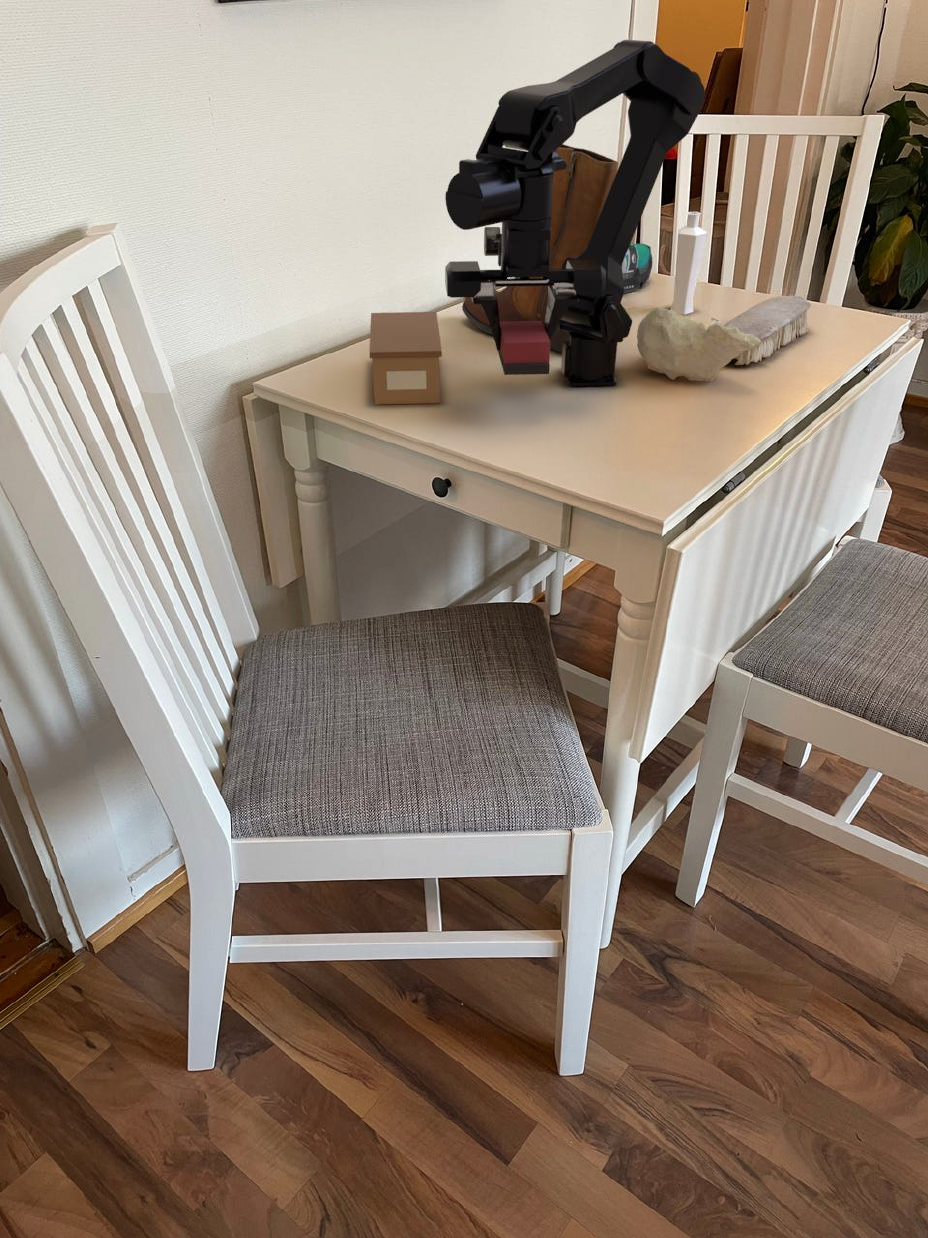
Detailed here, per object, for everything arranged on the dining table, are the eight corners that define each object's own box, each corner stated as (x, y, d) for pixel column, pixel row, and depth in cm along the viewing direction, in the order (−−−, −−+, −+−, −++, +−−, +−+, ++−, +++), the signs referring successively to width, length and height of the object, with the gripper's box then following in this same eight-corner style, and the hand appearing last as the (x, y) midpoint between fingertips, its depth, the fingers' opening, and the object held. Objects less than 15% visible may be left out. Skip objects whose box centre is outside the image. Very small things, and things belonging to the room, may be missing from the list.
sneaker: (667, 281, 171) (678, 190, 162) (580, 309, 157) (587, 211, 148) (625, 270, 176) (634, 182, 167) (538, 297, 162) (543, 202, 154)
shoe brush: (768, 319, 153) (774, 287, 150) (814, 328, 149) (821, 296, 146) (703, 361, 137) (708, 326, 134) (752, 373, 133) (759, 337, 130)
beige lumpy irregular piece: (616, 374, 138) (632, 336, 123) (637, 329, 139) (655, 285, 124) (715, 417, 137) (743, 383, 122) (735, 371, 138) (766, 332, 123)
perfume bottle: (660, 308, 157) (672, 211, 149) (682, 305, 159) (695, 208, 150) (677, 316, 154) (689, 217, 145) (699, 313, 155) (713, 214, 147)
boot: (452, 321, 151) (451, 132, 136) (496, 310, 156) (500, 126, 141) (564, 366, 135) (578, 156, 120) (610, 352, 140) (628, 149, 125)
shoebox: (437, 360, 137) (436, 311, 133) (442, 404, 124) (441, 350, 120) (373, 362, 136) (371, 312, 132) (372, 405, 123) (369, 352, 119)
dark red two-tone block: (536, 341, 125) (537, 311, 123) (549, 374, 115) (550, 342, 113) (495, 341, 125) (495, 312, 122) (504, 374, 115) (505, 343, 113)
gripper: (594, 200, 118) (585, 327, 126) (442, 201, 116) (443, 329, 125) (612, 220, 108) (600, 356, 117) (447, 222, 107) (447, 359, 116)
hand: (521, 349), depth 119 cm, fingers closed on dark red two-tone block, 5 cm apart
